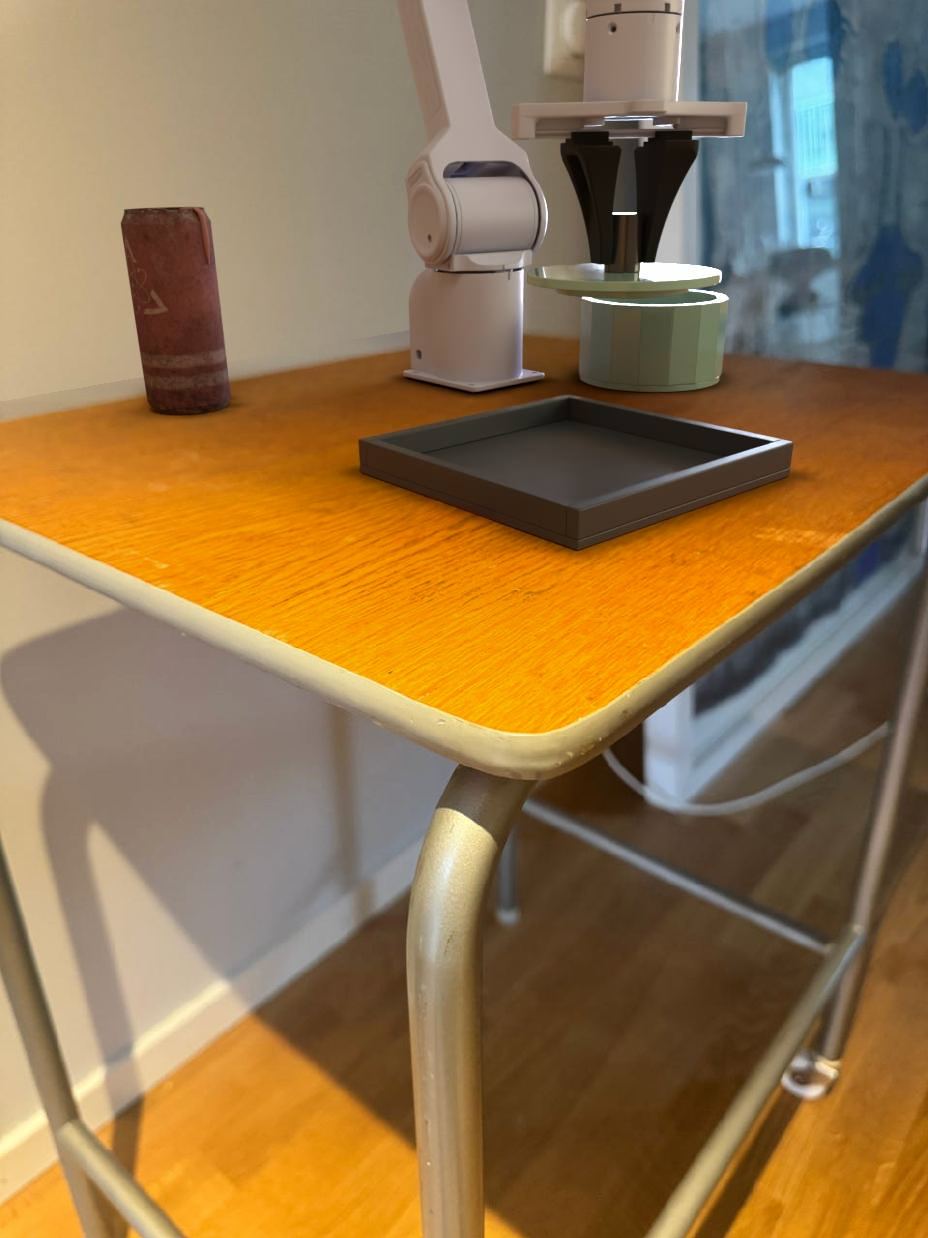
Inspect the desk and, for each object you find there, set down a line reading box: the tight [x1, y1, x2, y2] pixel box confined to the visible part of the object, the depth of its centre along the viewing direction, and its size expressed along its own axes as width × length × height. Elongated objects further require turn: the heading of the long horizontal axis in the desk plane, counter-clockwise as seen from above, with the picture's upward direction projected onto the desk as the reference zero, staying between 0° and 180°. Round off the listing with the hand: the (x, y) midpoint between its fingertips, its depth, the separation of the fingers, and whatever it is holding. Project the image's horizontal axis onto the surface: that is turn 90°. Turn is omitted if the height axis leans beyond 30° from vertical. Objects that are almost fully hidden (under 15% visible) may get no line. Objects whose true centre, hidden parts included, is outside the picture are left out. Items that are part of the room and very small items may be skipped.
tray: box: [357, 393, 794, 551], centre depth 56 cm, size 18×18×2 cm
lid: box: [525, 212, 722, 299], centre depth 63 cm, size 13×13×5 cm
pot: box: [578, 289, 730, 393], centre depth 81 cm, size 12×12×6 cm
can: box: [120, 206, 232, 416], centre depth 71 cm, size 6×6×14 cm
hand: (622, 262), depth 64 cm, fingers closed on lid, 2 cm apart
